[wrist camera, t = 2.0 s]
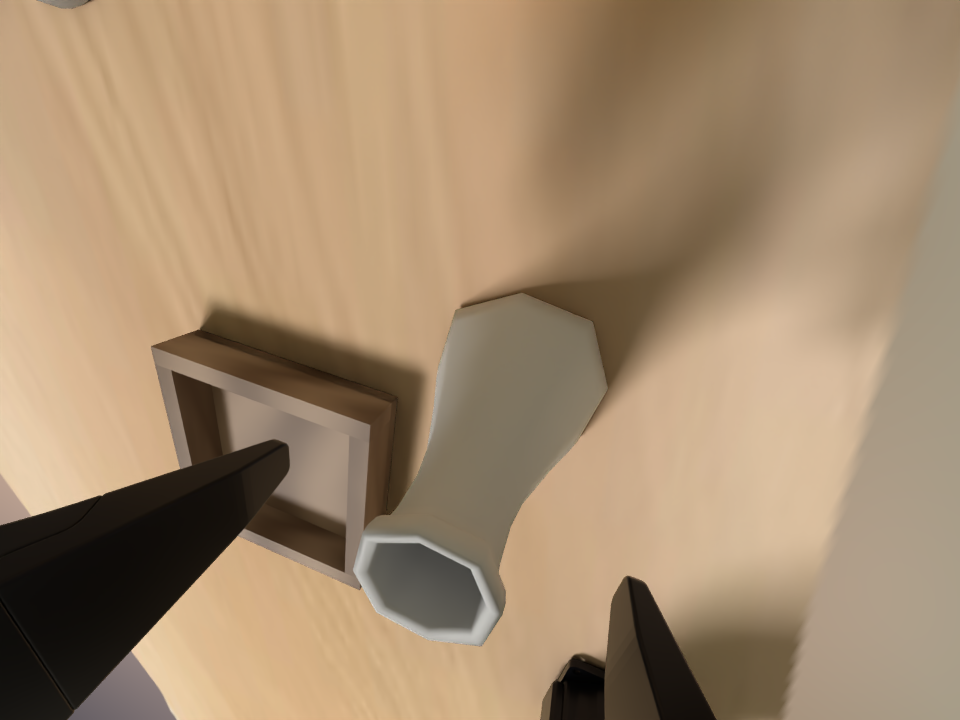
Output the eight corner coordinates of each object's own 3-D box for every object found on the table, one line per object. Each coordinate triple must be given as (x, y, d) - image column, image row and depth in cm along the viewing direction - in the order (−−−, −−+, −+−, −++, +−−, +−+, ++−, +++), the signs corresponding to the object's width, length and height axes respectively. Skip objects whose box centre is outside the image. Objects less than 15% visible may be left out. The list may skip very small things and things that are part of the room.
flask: (436, 284, 16) (226, 407, 7) (621, 297, 14) (656, 489, 5) (443, 430, 19) (303, 646, 10) (596, 457, 17) (590, 751, 8)
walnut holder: (397, 397, 18) (370, 425, 16) (381, 553, 24) (359, 590, 22) (198, 329, 21) (150, 346, 18) (225, 487, 26) (191, 515, 24)
